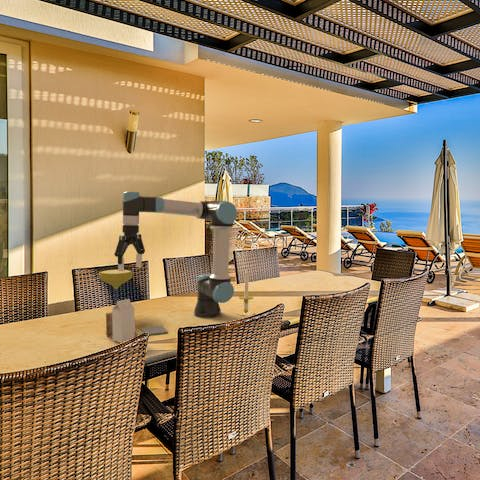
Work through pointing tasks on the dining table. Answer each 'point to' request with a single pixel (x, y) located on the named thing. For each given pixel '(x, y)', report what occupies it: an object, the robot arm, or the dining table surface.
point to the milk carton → (123, 321)
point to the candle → (246, 293)
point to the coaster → (154, 330)
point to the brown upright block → (109, 324)
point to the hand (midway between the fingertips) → (130, 269)
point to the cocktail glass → (115, 277)
